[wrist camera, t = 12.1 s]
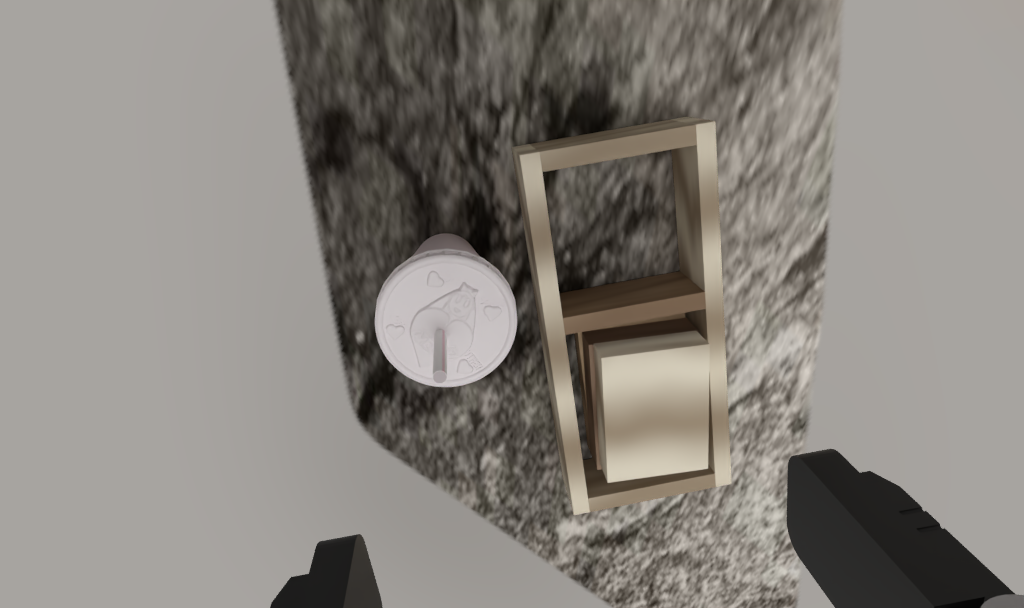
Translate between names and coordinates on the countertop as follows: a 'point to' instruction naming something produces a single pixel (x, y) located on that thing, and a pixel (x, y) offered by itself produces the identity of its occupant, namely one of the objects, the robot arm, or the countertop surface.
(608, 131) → the offcut rack
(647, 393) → the offcut top
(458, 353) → the smoothie
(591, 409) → the block
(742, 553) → the countertop surface
